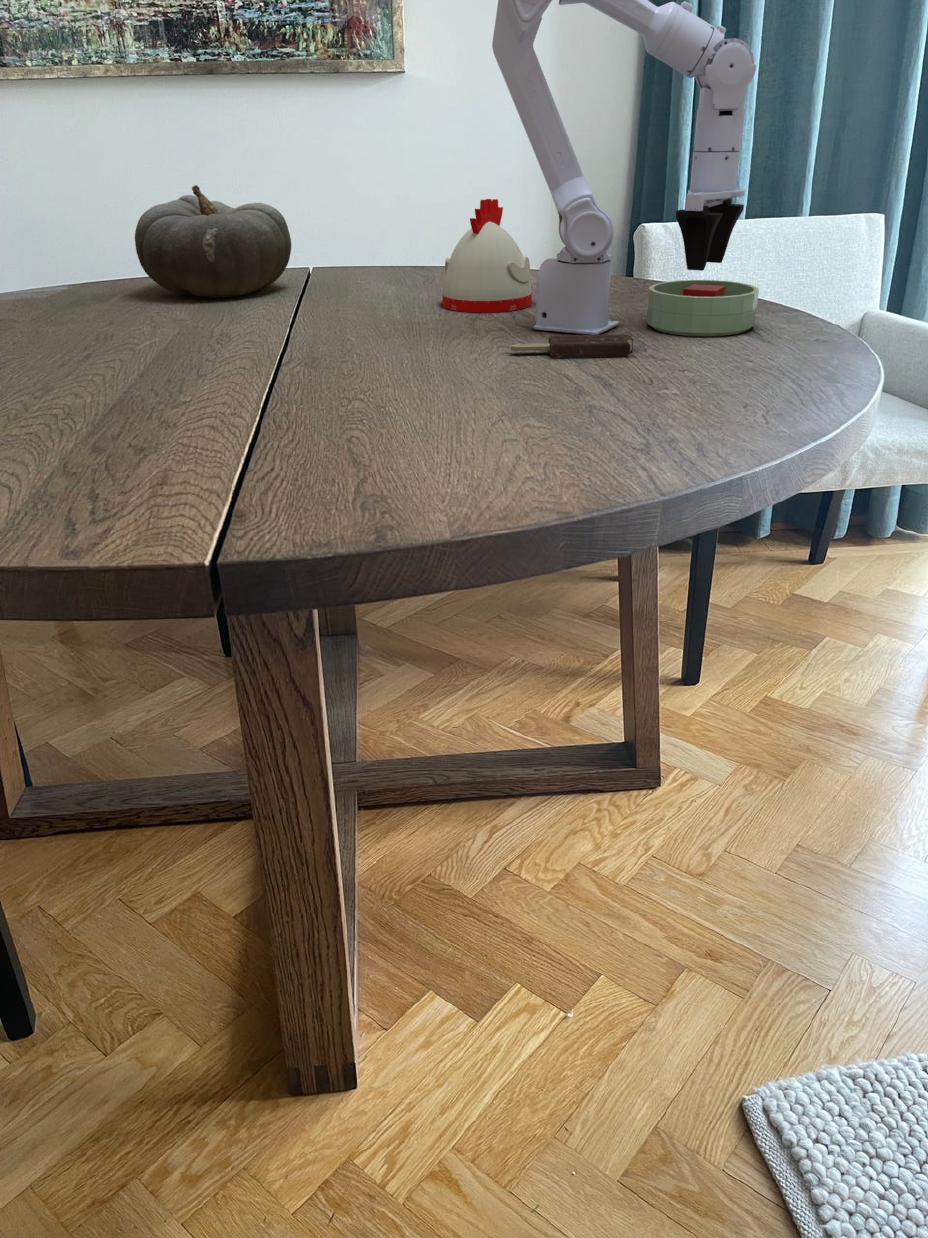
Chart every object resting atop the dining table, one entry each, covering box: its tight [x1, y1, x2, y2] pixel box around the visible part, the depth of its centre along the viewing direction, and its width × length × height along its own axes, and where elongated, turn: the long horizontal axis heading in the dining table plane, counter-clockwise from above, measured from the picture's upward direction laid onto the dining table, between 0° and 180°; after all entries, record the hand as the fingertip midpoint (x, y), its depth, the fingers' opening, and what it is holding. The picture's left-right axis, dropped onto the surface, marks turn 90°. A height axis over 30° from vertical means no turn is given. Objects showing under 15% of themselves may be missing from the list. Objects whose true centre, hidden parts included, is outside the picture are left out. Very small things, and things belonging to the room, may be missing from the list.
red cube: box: [683, 284, 725, 297], centre depth 125 cm, size 4×4×5 cm
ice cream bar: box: [510, 333, 634, 359], centre depth 114 cm, size 5×2×15 cm
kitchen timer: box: [441, 198, 533, 314], centre depth 141 cm, size 14×14×15 cm
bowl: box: [646, 279, 760, 337], centre depth 126 cm, size 14×14×5 cm
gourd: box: [134, 184, 292, 299], centre depth 157 cm, size 25×25×17 cm
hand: (704, 265), depth 123 cm, fingers open, 7 cm apart
